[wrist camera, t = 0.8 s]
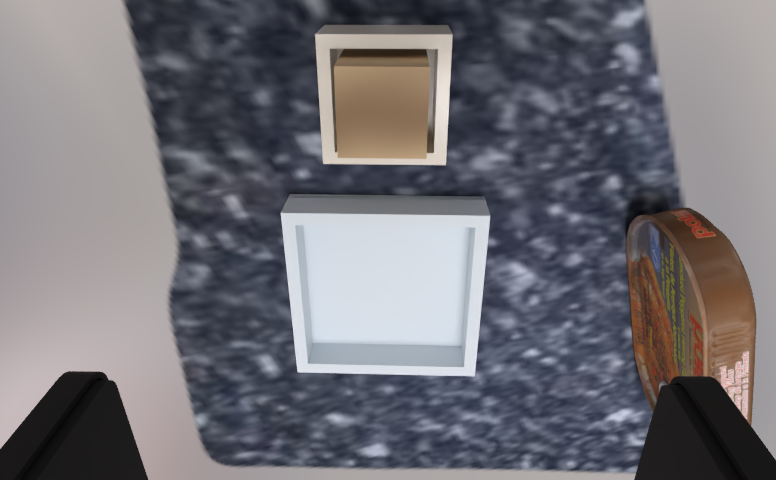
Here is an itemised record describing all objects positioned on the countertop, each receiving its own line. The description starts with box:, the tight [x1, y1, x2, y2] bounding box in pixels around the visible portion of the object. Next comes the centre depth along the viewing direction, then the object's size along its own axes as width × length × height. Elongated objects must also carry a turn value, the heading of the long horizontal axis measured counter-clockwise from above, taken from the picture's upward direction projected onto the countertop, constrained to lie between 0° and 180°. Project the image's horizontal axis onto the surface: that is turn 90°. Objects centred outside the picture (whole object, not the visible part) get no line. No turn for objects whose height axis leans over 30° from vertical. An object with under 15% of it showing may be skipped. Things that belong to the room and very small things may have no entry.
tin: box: [626, 208, 756, 426], centre depth 30 cm, size 15×3×8 cm, turn 15°
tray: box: [281, 194, 490, 376], centre depth 32 cm, size 11×11×2 cm
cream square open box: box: [315, 25, 453, 165], centre depth 27 cm, size 6×6×4 cm
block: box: [334, 49, 430, 159], centre depth 25 cm, size 4×4×4 cm
